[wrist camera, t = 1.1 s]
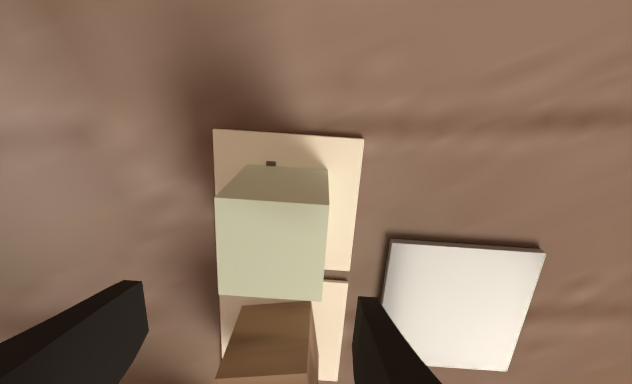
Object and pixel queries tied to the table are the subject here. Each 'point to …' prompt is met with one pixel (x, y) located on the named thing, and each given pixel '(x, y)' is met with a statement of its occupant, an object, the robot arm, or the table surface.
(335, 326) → the plain tile
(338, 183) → the tile
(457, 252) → the light grey square plate
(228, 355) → the walnut block
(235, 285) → the sage block
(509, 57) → the table surface
